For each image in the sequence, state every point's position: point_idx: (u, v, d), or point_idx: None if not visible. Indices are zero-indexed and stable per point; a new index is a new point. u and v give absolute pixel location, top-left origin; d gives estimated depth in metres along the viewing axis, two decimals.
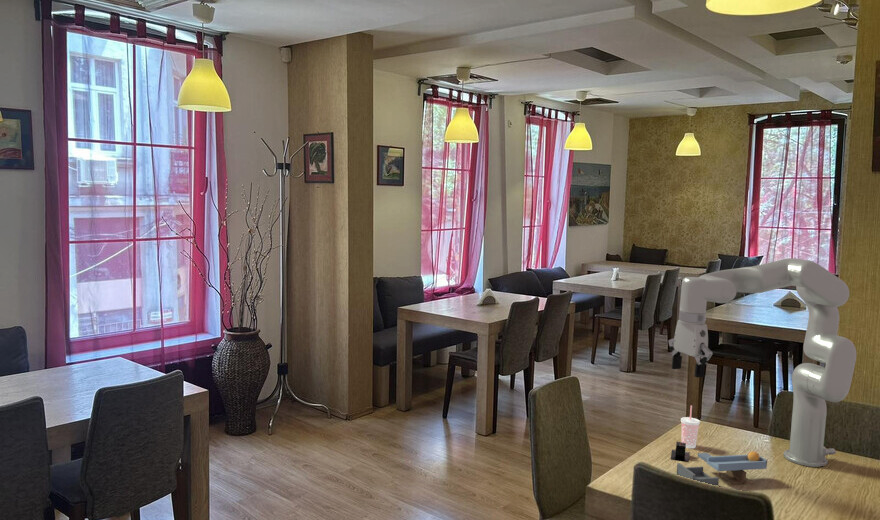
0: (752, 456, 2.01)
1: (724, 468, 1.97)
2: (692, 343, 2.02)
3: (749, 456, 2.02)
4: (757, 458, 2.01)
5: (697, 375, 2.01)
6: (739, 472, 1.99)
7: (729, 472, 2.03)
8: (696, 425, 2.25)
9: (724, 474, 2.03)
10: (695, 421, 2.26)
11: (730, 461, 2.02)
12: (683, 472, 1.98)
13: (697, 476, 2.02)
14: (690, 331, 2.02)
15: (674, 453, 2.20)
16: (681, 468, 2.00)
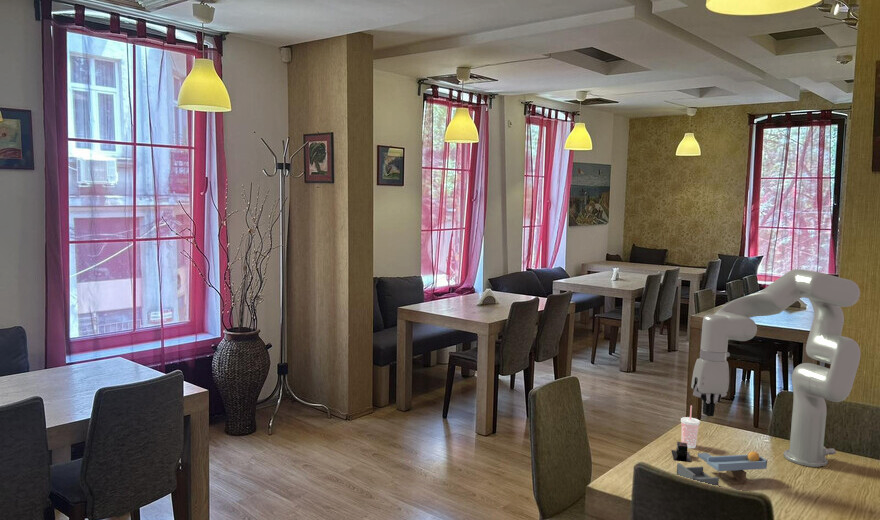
0: (752, 456, 2.01)
1: (724, 468, 1.97)
2: (725, 381, 2.02)
3: (749, 456, 2.02)
4: (757, 458, 2.01)
5: None
6: (739, 472, 1.99)
7: (729, 472, 2.03)
8: (696, 425, 2.25)
9: (724, 474, 2.03)
10: (695, 421, 2.26)
11: (730, 461, 2.02)
12: (683, 472, 1.98)
13: (697, 476, 2.02)
14: (723, 369, 2.02)
15: (675, 453, 2.20)
16: (681, 468, 2.00)
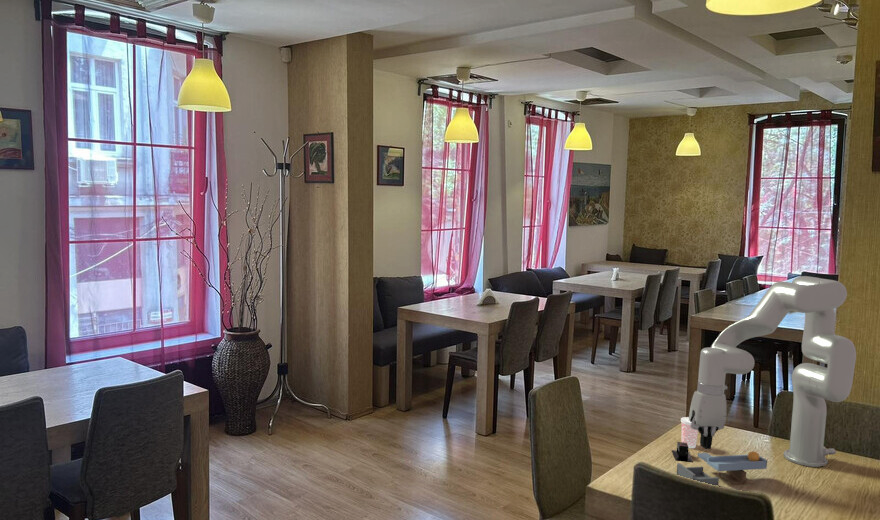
0: (752, 456, 2.01)
1: (724, 468, 1.97)
2: (722, 414, 2.03)
3: (749, 456, 2.02)
4: (757, 458, 2.01)
5: None
6: (739, 472, 1.99)
7: (729, 472, 2.03)
8: None
9: (724, 474, 2.03)
10: None
11: (730, 461, 2.02)
12: (683, 472, 1.98)
13: (697, 476, 2.02)
14: (721, 403, 2.03)
15: (676, 454, 2.20)
16: (681, 468, 2.00)
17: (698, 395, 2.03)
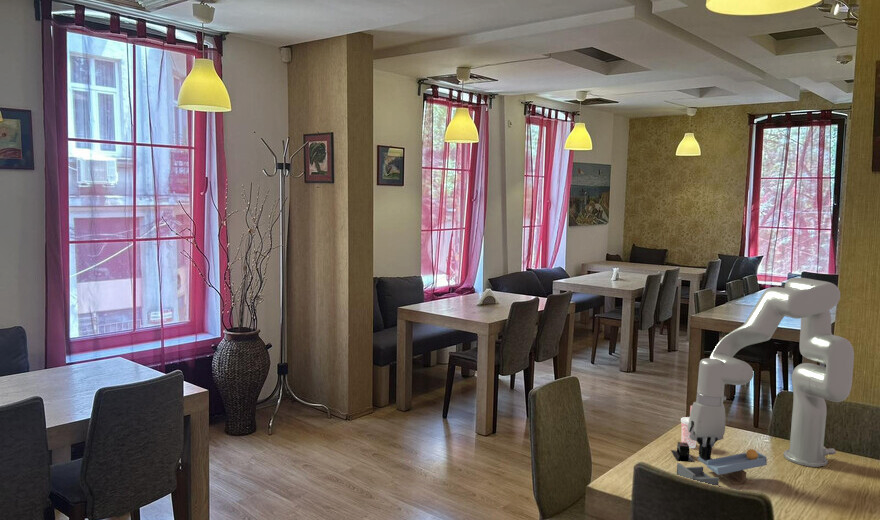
0: (750, 454, 2.01)
1: (724, 471, 1.97)
2: (721, 424, 2.04)
3: (747, 455, 2.01)
4: (755, 456, 2.00)
5: None
6: (739, 472, 1.99)
7: None
8: None
9: (724, 474, 2.03)
10: None
11: (730, 462, 2.02)
12: (683, 472, 1.98)
13: (697, 476, 2.02)
14: (720, 413, 2.03)
15: (676, 454, 2.19)
16: (681, 468, 2.00)
17: (697, 406, 2.03)
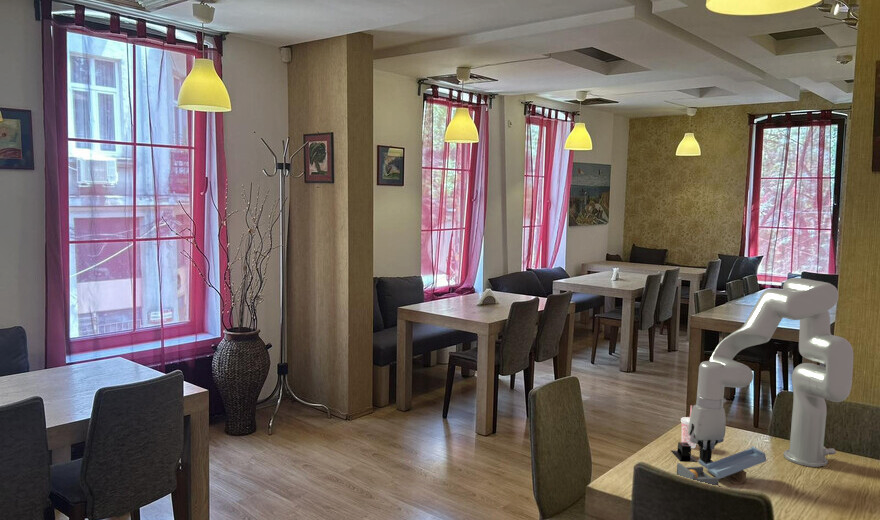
0: None
1: (724, 474, 1.97)
2: (722, 427, 2.04)
3: None
4: None
5: None
6: (739, 472, 1.99)
7: None
8: None
9: None
10: None
11: (730, 462, 2.02)
12: (683, 472, 1.98)
13: None
14: (720, 416, 2.03)
15: (677, 454, 2.19)
16: (681, 468, 2.00)
17: (697, 409, 2.03)
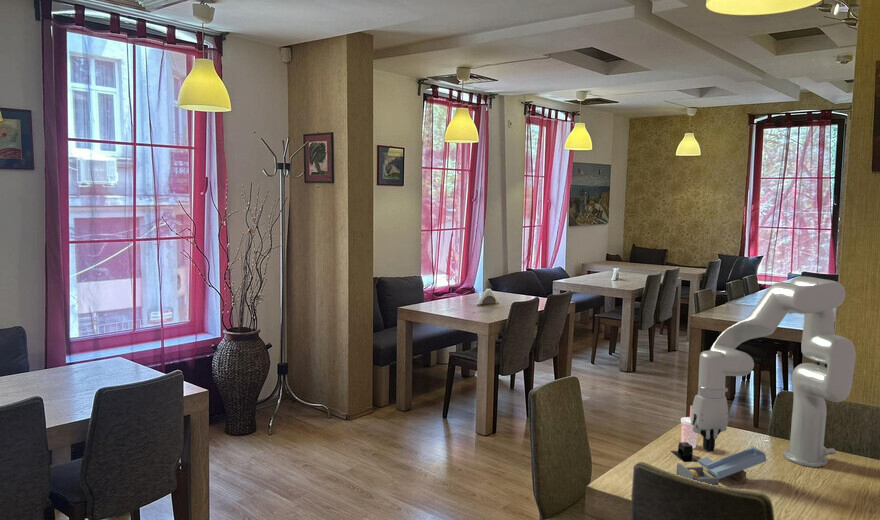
0: None
1: (724, 474, 1.97)
2: (724, 416, 2.04)
3: None
4: (695, 476, 1.97)
5: None
6: (739, 472, 1.99)
7: None
8: None
9: None
10: None
11: (730, 462, 2.02)
12: (683, 472, 1.98)
13: None
14: (722, 405, 2.03)
15: (678, 454, 2.19)
16: (681, 468, 2.00)
17: (699, 399, 2.03)
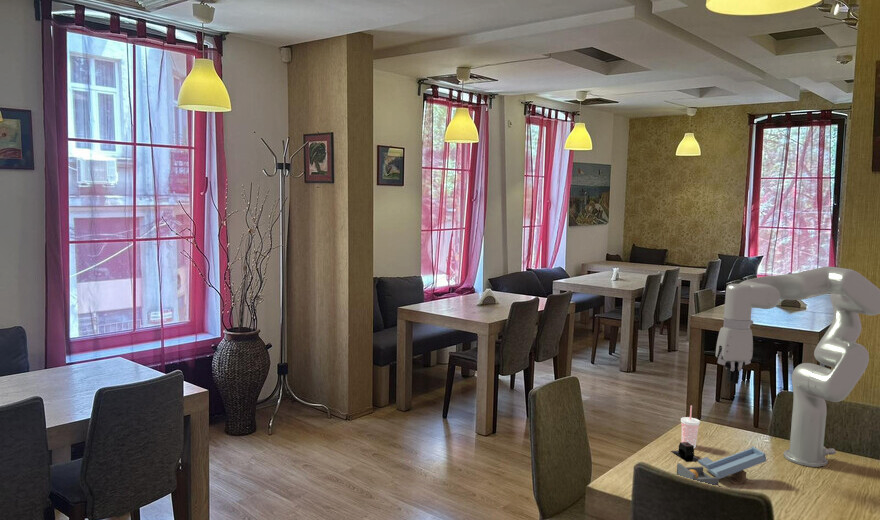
0: None
1: (724, 474, 1.97)
2: (749, 348, 2.06)
3: None
4: (695, 476, 1.97)
5: None
6: (739, 472, 1.99)
7: None
8: (696, 425, 2.25)
9: None
10: (695, 421, 2.26)
11: (730, 462, 2.02)
12: (683, 472, 1.98)
13: None
14: (747, 337, 2.05)
15: (679, 454, 2.19)
16: (681, 468, 2.00)
17: (725, 330, 2.05)
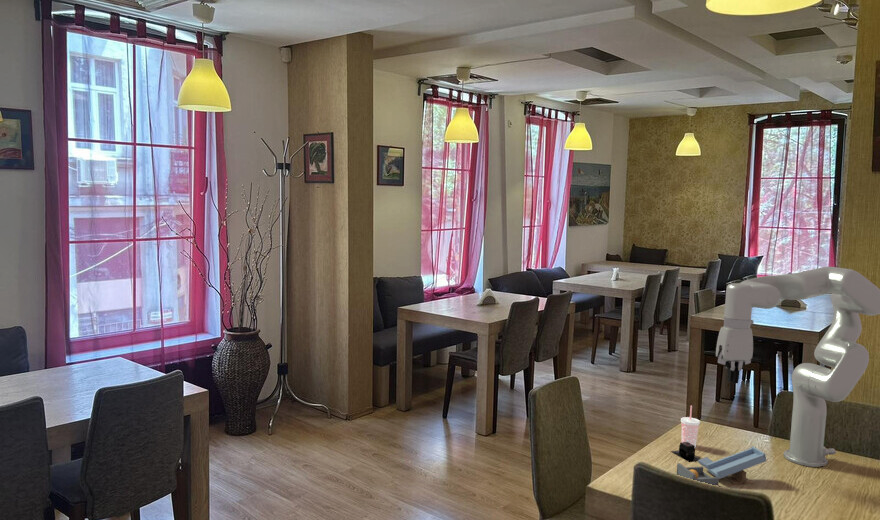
0: None
1: (724, 474, 1.97)
2: (749, 348, 2.06)
3: None
4: (695, 476, 1.97)
5: None
6: (739, 472, 1.99)
7: None
8: (696, 425, 2.25)
9: None
10: (695, 421, 2.26)
11: (730, 462, 2.02)
12: (683, 472, 1.98)
13: None
14: (747, 337, 2.05)
15: (680, 454, 2.19)
16: (681, 468, 2.00)
17: (725, 330, 2.05)
